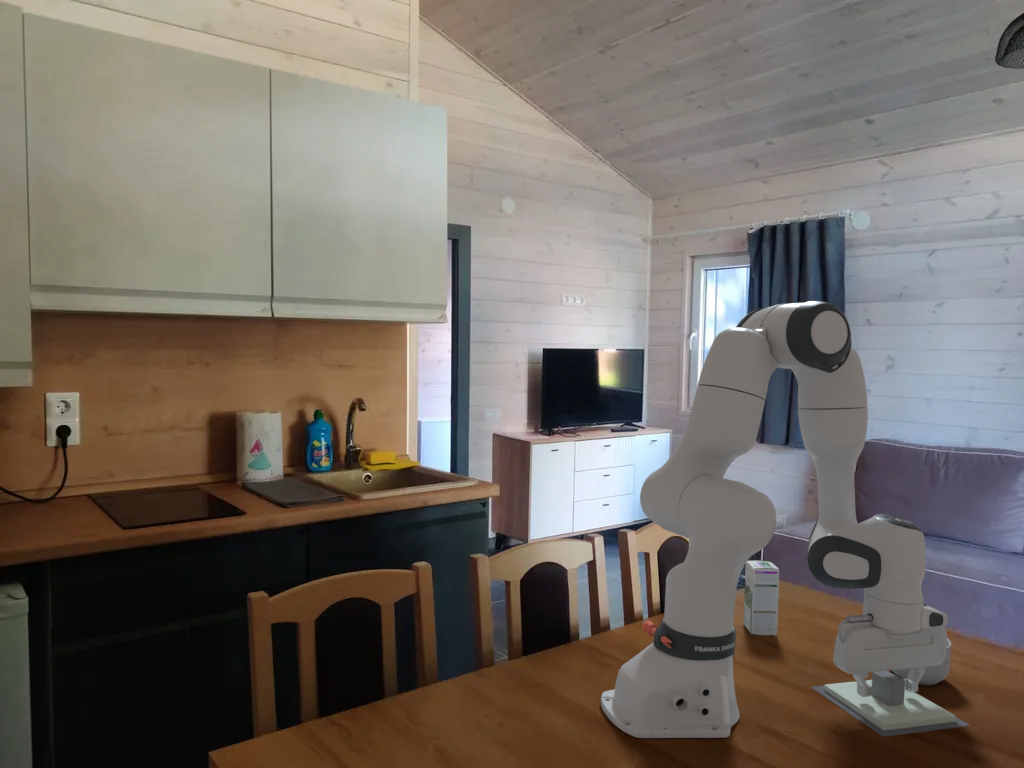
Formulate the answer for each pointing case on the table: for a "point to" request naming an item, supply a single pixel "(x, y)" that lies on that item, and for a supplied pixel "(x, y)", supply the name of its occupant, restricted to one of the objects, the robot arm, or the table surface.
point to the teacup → (931, 670)
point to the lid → (890, 703)
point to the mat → (895, 731)
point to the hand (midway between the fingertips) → (887, 692)
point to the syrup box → (761, 598)
